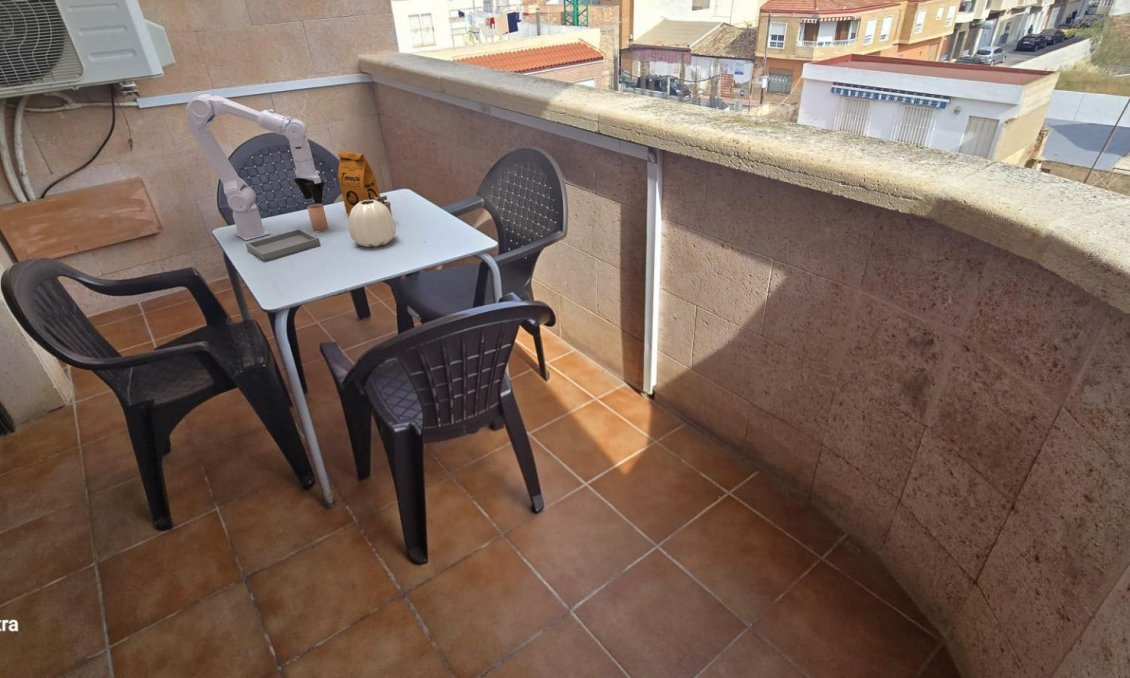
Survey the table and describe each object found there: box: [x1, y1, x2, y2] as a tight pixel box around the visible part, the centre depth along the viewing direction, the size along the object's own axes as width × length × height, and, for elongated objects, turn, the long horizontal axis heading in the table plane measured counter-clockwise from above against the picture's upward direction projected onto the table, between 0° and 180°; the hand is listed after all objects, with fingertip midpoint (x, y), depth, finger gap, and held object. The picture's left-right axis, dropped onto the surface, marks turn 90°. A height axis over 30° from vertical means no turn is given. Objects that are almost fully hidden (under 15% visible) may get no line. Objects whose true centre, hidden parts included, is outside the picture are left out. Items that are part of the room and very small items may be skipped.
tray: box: [245, 228, 321, 263], centre depth 182 cm, size 14×18×2 cm
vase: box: [348, 200, 397, 248], centre depth 182 cm, size 14×14×13 cm
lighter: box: [374, 195, 393, 216], centre depth 196 cm, size 8×3×10 cm, turn 143°
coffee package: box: [337, 151, 381, 215], centre depth 204 cm, size 10×12×22 cm
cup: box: [306, 203, 329, 232], centre depth 195 cm, size 5×5×8 cm
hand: (313, 200), depth 192 cm, fingers open, 7 cm apart
